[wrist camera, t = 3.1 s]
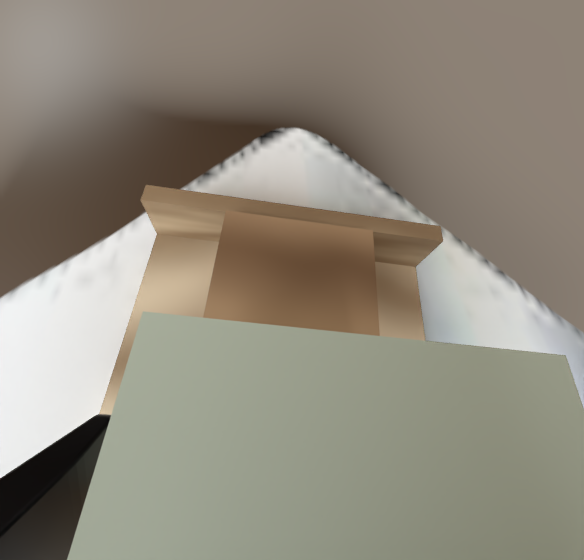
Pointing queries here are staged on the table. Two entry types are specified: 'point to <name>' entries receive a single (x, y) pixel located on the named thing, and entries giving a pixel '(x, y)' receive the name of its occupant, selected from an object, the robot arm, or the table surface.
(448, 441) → the tall block
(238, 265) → the offcut upper
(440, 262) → the table surface
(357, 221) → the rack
